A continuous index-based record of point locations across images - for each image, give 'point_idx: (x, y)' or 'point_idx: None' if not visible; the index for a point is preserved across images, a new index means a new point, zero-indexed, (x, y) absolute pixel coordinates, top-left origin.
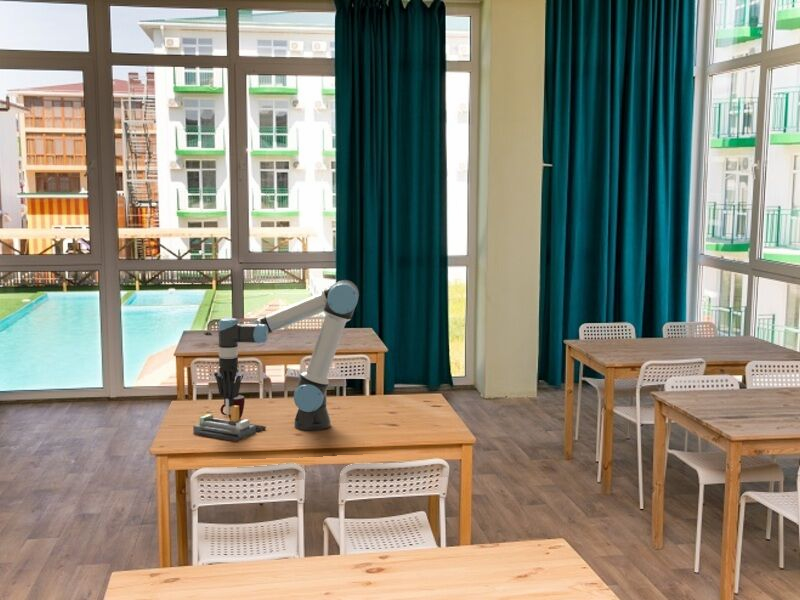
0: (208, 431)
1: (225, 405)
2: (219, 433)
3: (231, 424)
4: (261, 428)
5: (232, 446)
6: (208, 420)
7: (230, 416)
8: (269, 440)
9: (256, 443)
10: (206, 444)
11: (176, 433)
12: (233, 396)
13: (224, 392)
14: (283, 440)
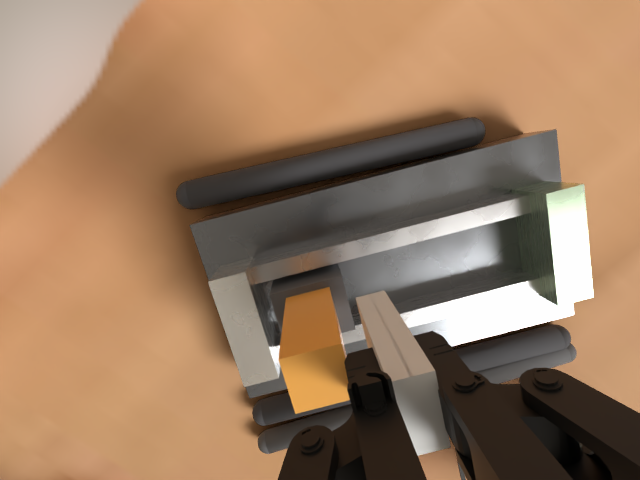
0: (423, 162)
1: (422, 336)
2: (337, 184)
3: (315, 275)
4: (255, 420)
5: (117, 106)
6: (531, 244)
7: None
8: (79, 332)
9: (75, 246)
10: (269, 19)
11: (605, 55)
12: (302, 443)
13: (505, 438)
14: (28, 380)
